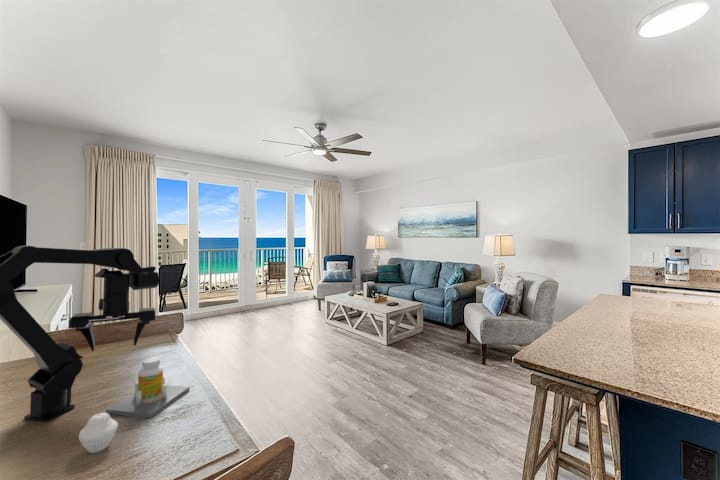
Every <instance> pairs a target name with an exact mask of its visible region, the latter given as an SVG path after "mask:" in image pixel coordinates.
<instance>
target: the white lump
mask: <svg viewBox="0 0 720 480" xmlns="http://www.w3.org/2000/svg"><path fill="white" fill-rule="evenodd" d="M118 426H119V424H118V421H117V420H116V419H112V417H111V414H108V413H106V412H100V413H96V414H94V415H92V416H91V417H90V418H89V419H88V420H87V423H86V425H85V426H84V427H83V428H82V429H81V430H80V432H79V434H78V440H79V441H80V442H79V443H80V444H81V445H82V446H83V447H84V449H85V450H86V451H87V452H88V453H90V454H93V453H99V452H101V451H104V450H106V448H108V446H109V445H110V443H111V441H112V439H113V437H115V435H116V431H117V429H118Z"/></svg>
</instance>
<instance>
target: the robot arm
mask: <svg viewBox="0 0 720 480" xmlns="http://www.w3.org/2000/svg"><path fill="white" fill-rule="evenodd" d="M34 263H35V264H36V263H37V264H75V265H76V264H79V265H81V264H82V265H93V266H97V267H103V268H101V269H100V270H99V271H97V273H95V274H94V277H95V278H101V279H102V278H103V293H102V297H103V298H99V302H98V310H99V311H102V314H96V315H95V314H94V315H93V312H82V313H81V312H80V313H79V312H78V313H75V314H73V316H72V317H70V318H69V321H68V328H69V329H75V331H76V332H80V333H81V334H82V335H83V337H84V338H85V340H86V341H87V344H88V346H89V347H90V349H91V351H92V352H94V351H95V346H96V343H95V334H94V323H103V322H112V321H123V320H124V321H125V320H132V319H135V320H137V324H136V328H135V334H134V338H133V346H137V343H138V341H139V338H140V335H141V333H142V332H143V329H144V327H146V325H149V324H150V323H151V322H152V321H156V308H154V307H146V308H145V307H143V308H139V311H132V312H130V301H129V300H130V299H129V298H130V288H131V289H132V290H134V291H140V290H149V289H156V288H158V286H159V284H160V281H161V280H160V276H159V273H158V272H157V270H156V266H153V265H152V266H150V265H148V266H142V267H141V265H140V264H139V263H138V262H137V261H136V259H135V256H134V253H133V252H132V251H131V250H130V249H128V248H122V247H105V248H96V249H74V248H73V249H72V248H71V249H70V248H69V249H68V248H57V247H56V248H55V247H54V248H51V247H38V246H33V245H19V246H16V247H14V248H13V249H12V250H11V249H10V251H8V252H6V253H5V254H2V255H0V320H1V321H2V323H4V324H5V325H6V326H7V328H8V329H9V330H10V331H12V332H13V334H14V335H15V336H16V338H18V339H19V340H20V341H21V342H22V343H23V344H24V345H25V346H26V347H27V348H28V349H29V350H30V352H32V354H33V355H34V358H35V362H36V365H37V366H38V370H37V371H35V373H33V375H31V376H30V377H29V378H28V379H27V384H28V385H29V387H30V388H33V389H34V391H32V392H30V405H29V406H30V408H29V409H30V410H29V412H30V413H29V414H26V415H24V417H23V418H24V419H25V420H32V421H34V420H35V421H41V422H48V421H50V420H53V419H54V418H56V417H58V416H60V415H62V414H64V413H66V412H68V411H70V410H72V409H74V408H76V404H71V403H72V387H73V385H74V382H75V380H76V378H77V376H78V375H79V374H80V372H81V371H82V369H83V367H84V362H83V361H82V359H83V358H84V356H82V355H80V354H79V353H78V352H77V350H76V348H75V347H74V346H73V345H71V344H67V343H66V342H60V343H59V344H57V343H56V341H55V340H54V339H53V338H52V337H51V336H50V335H49V334H48V333H47V331H46V330H45V329H44V328H43V327H42V326H41V325H40V324H39V322H38V321H36V319H35V318H34V317H33V316H32V315H31V314H30V313H29V311H28V310H27V309H26V308H25V307H24V306H23V305H22V304H21V302H19V300H18V298H17V296H16V292H15V289H14V287H13V284H12V283H11V281H12V280H14V279H15V278H17V277H18V276H19V275H20V274H21V273H23V272H24V271H25V270H26V269H27V268H29V267H30V266H31V265H33V264H34ZM108 268H109V269H110V268H111V269H117V270H109V269H108ZM123 271H124V272H125V273H124V272H123Z"/></svg>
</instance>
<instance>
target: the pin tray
mask: <svg viewBox="0 0 720 480" xmlns="http://www.w3.org/2000/svg"><path fill="white" fill-rule="evenodd" d="M165 381H166V377H165V376H163V385H162V395H161V396H160V397H158V398H156V399H154V400H151V401H141V400H142V390H138V381H137V382H135V383H134V393H132V394H131V395H129V396H126V397H125V398H123V399H121V400H120V401H118V402H116V403H114V404H113V405H111V406H109V407H107V408H105V413H108V414H109V415H116V416H126V417H135V418H144V419H151V418H153V417H154V416H155V415H157V414H158V413H160V412H161V411H163V410H164V409H165V408H167V407H168V406H169V405H171V404H173V403H174V402H176V401H177V400H178V399H180V398H181V397H182V396H184V395H185V394H187V393H188V392H189V391H190V386H183V385H181V386H180V385H171V384H169V385H168V384H167V383H166V382H165Z"/></svg>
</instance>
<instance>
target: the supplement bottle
mask: <svg viewBox="0 0 720 480" xmlns="http://www.w3.org/2000/svg"><path fill="white" fill-rule="evenodd" d="M160 364H161V358H160V357H157V356H155V357H148V358H144V359H143V360H142V361H141V367H142V368H140V369H139V371H138V380H137V382H138V390H142V400H141V401H151V400H154V399H156V398H158V397H160V396H161V395H162V385H163V377H164V367H163V366H162V365H160Z"/></svg>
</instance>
